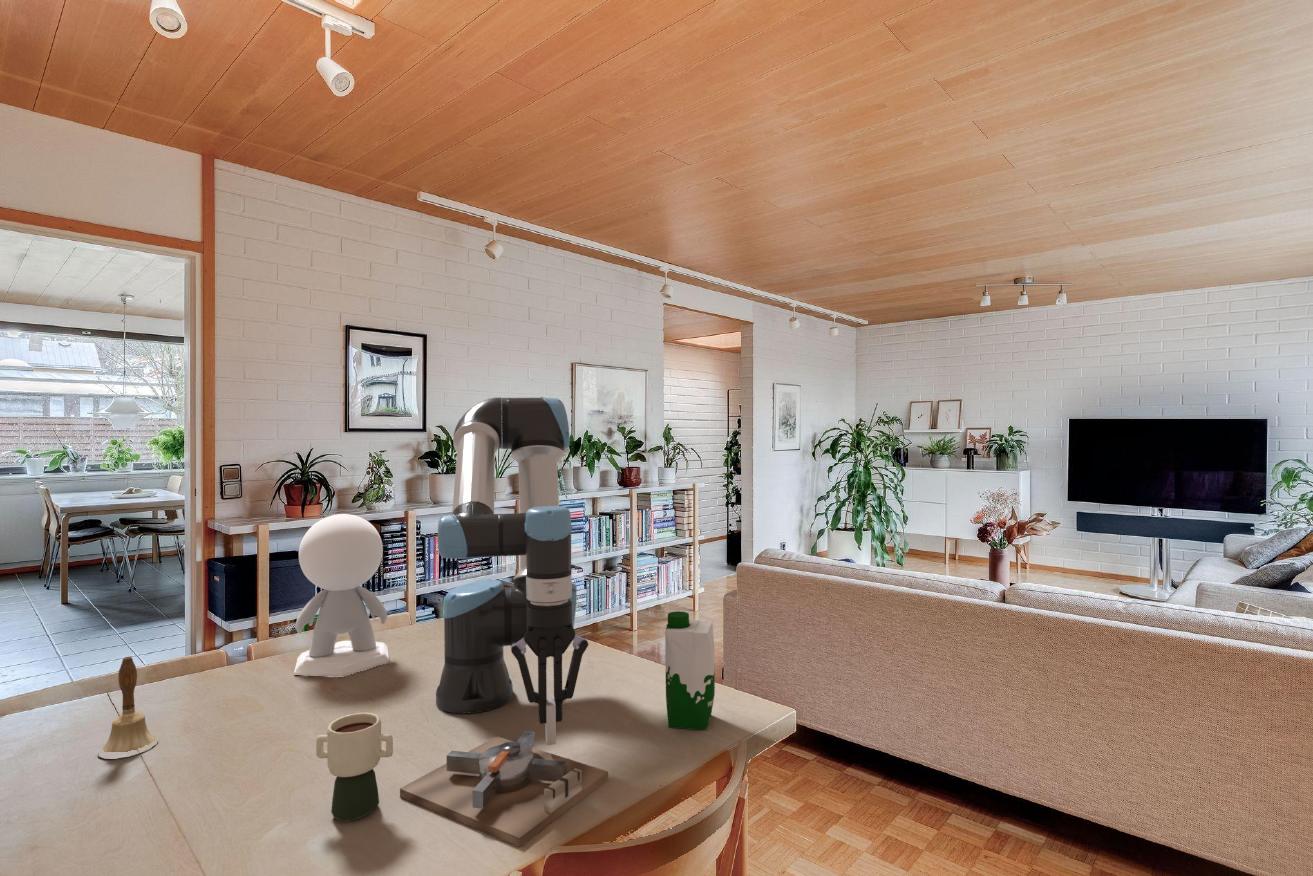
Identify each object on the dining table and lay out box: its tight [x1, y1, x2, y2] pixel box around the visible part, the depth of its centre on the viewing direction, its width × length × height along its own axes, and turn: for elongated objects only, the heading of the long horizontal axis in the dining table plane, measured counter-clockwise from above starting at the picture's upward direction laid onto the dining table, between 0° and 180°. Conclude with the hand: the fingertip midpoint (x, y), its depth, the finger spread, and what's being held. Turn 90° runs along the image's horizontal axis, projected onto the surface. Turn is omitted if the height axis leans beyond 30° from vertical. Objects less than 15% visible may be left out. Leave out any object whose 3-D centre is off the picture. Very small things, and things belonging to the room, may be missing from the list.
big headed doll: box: [293, 513, 390, 678], centre depth 161 cm, size 20×23×35 cm
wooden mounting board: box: [399, 735, 609, 848], centre depth 104 cm, size 24×20×4 cm
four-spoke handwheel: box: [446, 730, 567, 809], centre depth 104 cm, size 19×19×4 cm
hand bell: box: [102, 656, 157, 752], centre depth 118 cm, size 8×8×16 cm
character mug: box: [315, 712, 394, 821], centre depth 97 cm, size 11×7×13 cm, turn 91°
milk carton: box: [664, 610, 716, 731], centre depth 127 cm, size 9×9×20 cm
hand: (550, 741), depth 113 cm, fingers closed
